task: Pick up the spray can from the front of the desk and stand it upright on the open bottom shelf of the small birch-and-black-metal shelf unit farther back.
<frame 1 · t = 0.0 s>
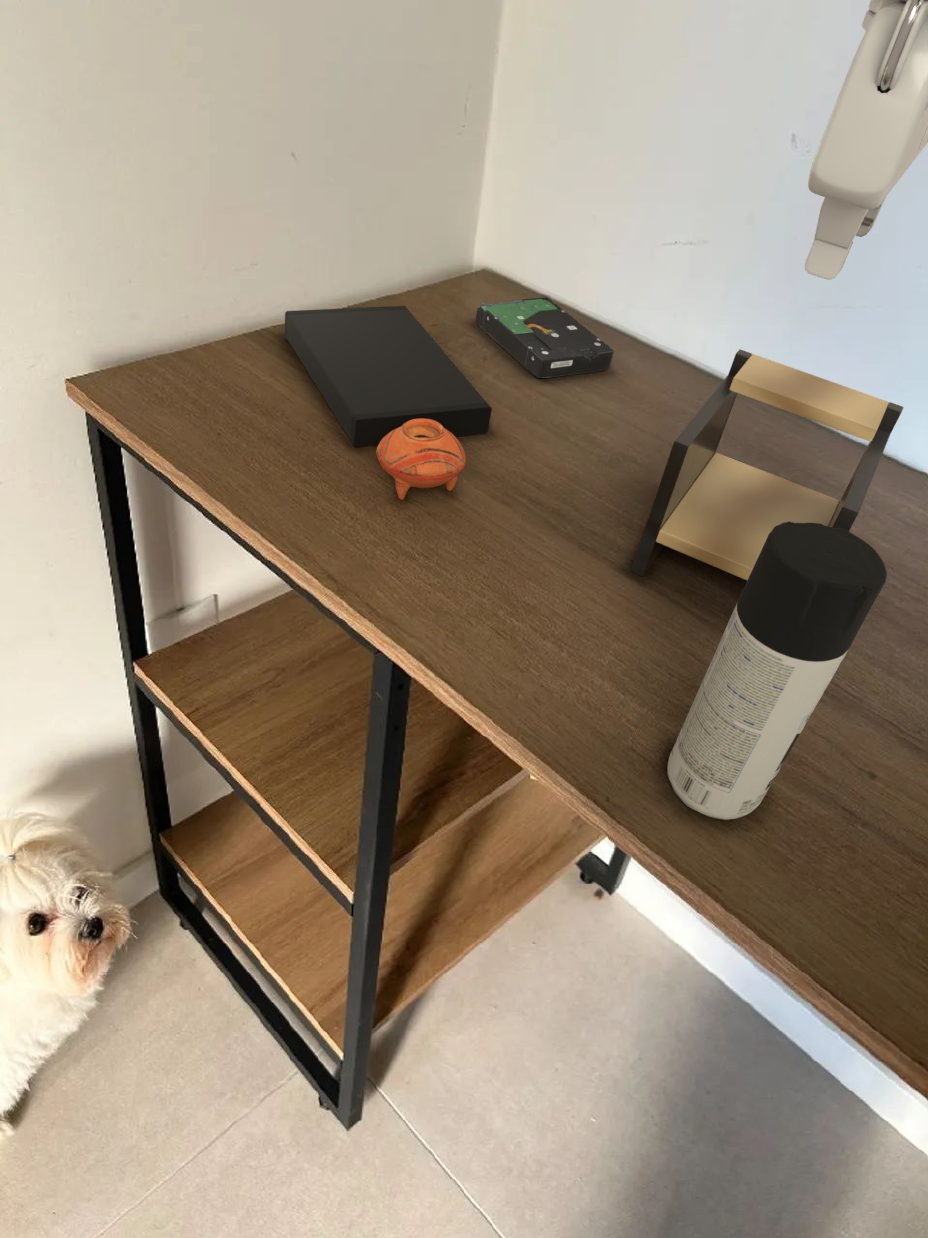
hand: (838, 251, 53), 31 cm above the table, tool pointing down, fingers open, 8 cm apart
disk drive: (539, 348, 111), on the table
pot: (417, 487, 85), on the table
spray can: (710, 785, 63), on the table
shelf: (734, 559, 84), on the table
external hard drive: (381, 384, 99), on the table
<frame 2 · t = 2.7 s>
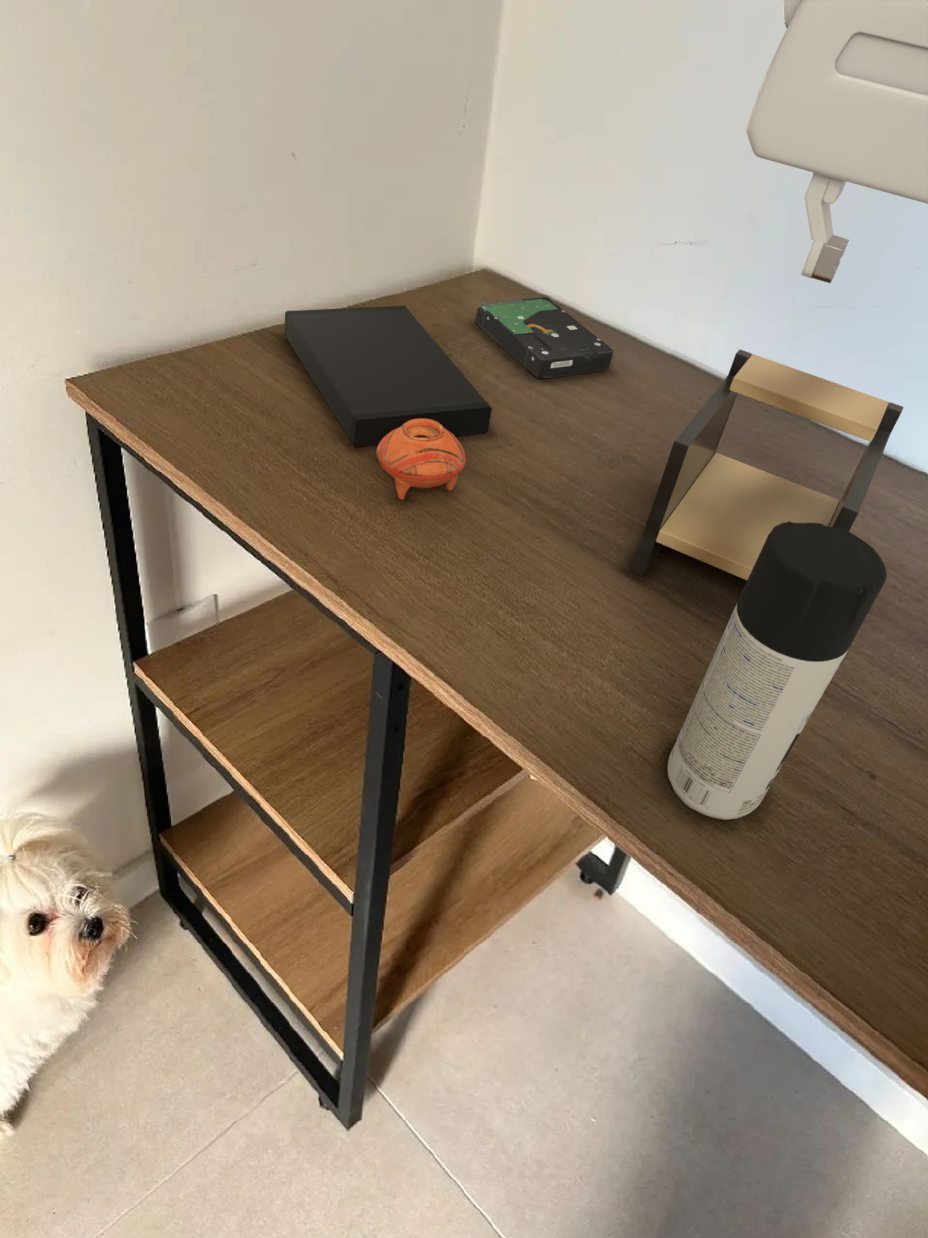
hand: (914, 305, 44), 32 cm above the table, tool pointing down, fingers open, 8 cm apart
nothing on the table moved.
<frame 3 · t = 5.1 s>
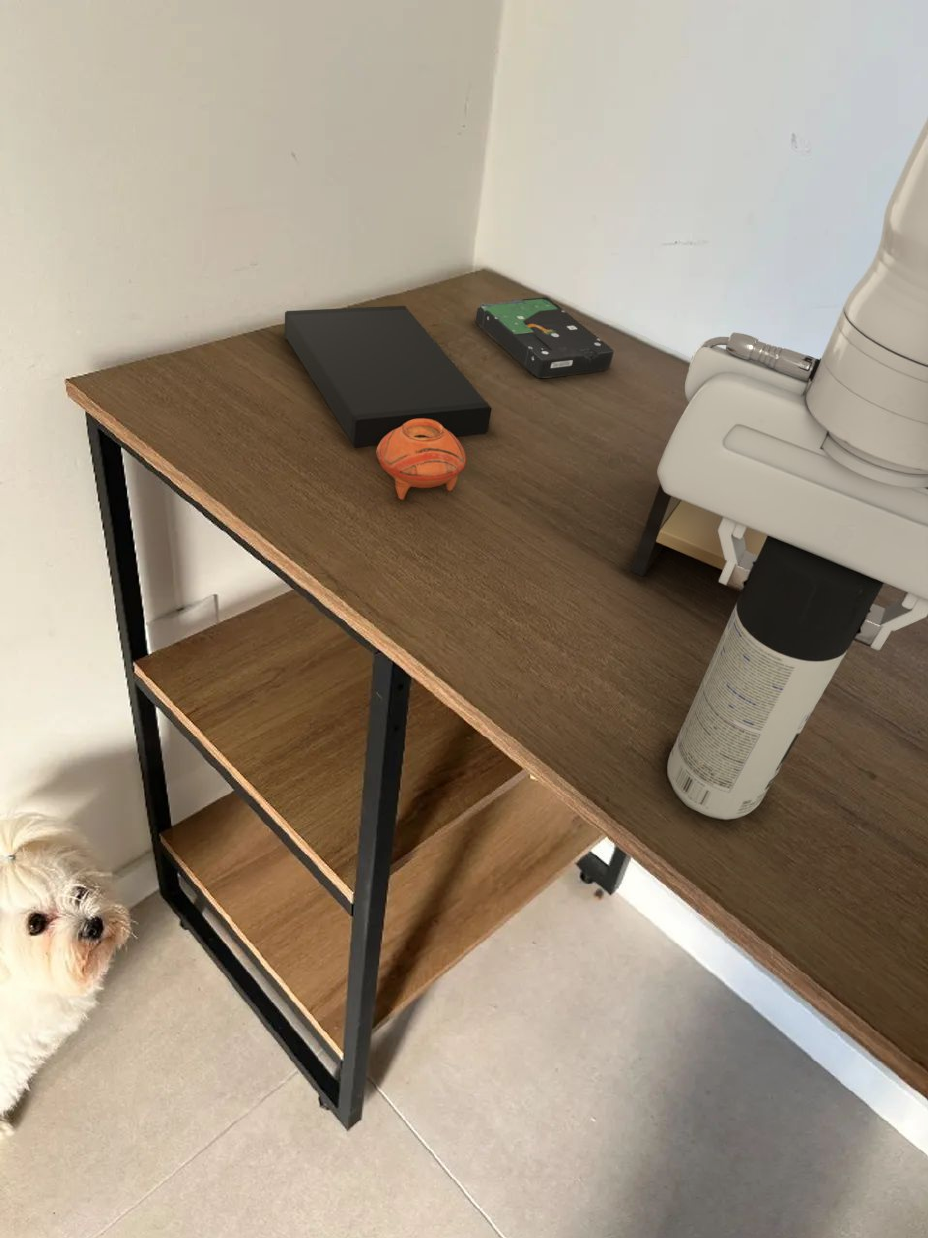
hand: (799, 611, 53), 16 cm above the table, tool pointing down, fingers closed on spray can, 6 cm apart
spray can: (710, 785, 63), on the table, touching gripper
everything else where it was.
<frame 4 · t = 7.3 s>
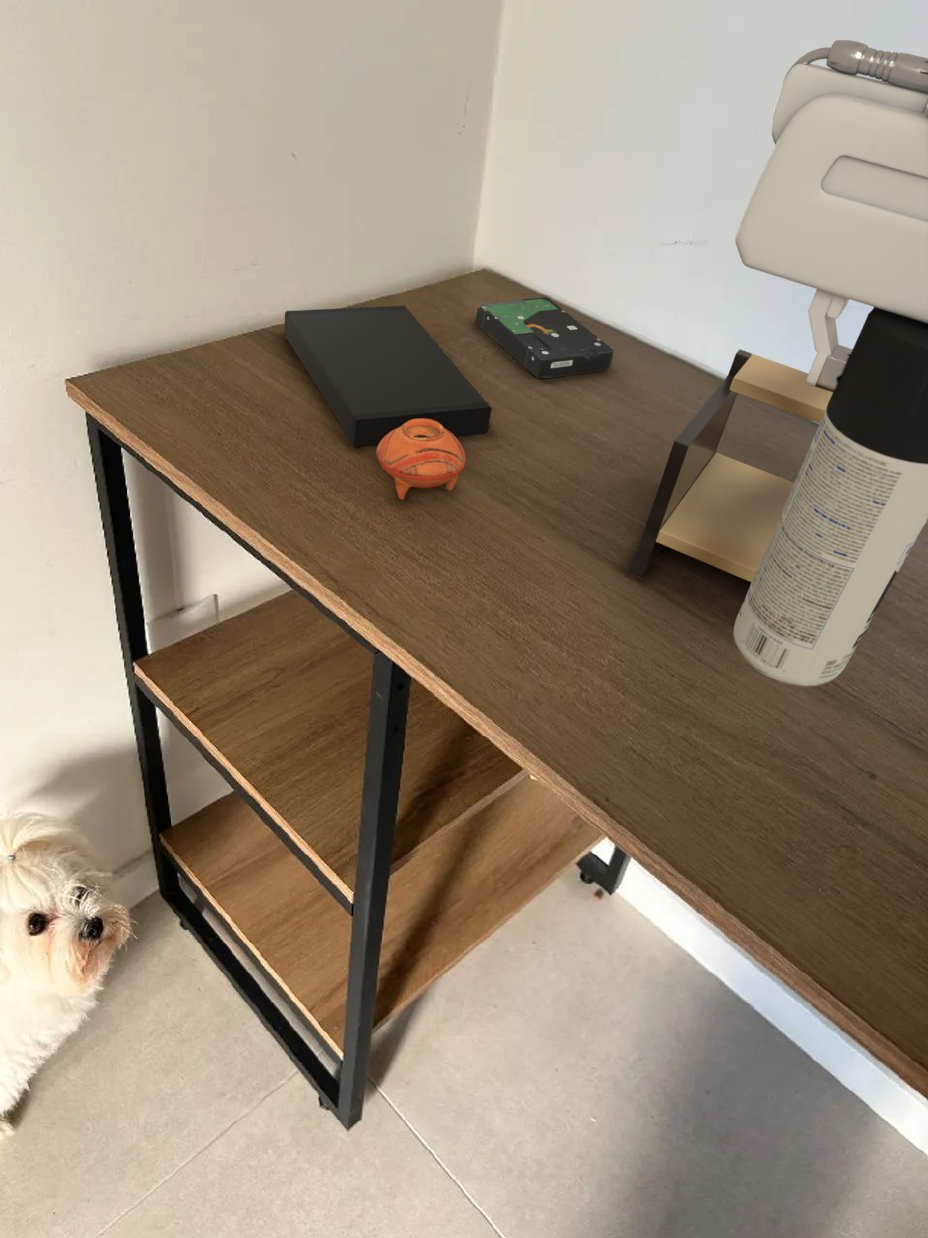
hand: (903, 412, 45), 29 cm above the table, tool pointing down, fingers closed on spray can, 6 cm apart
spray can: (783, 653, 55), point 13 cm above the table, touching gripper
everything else where it was.
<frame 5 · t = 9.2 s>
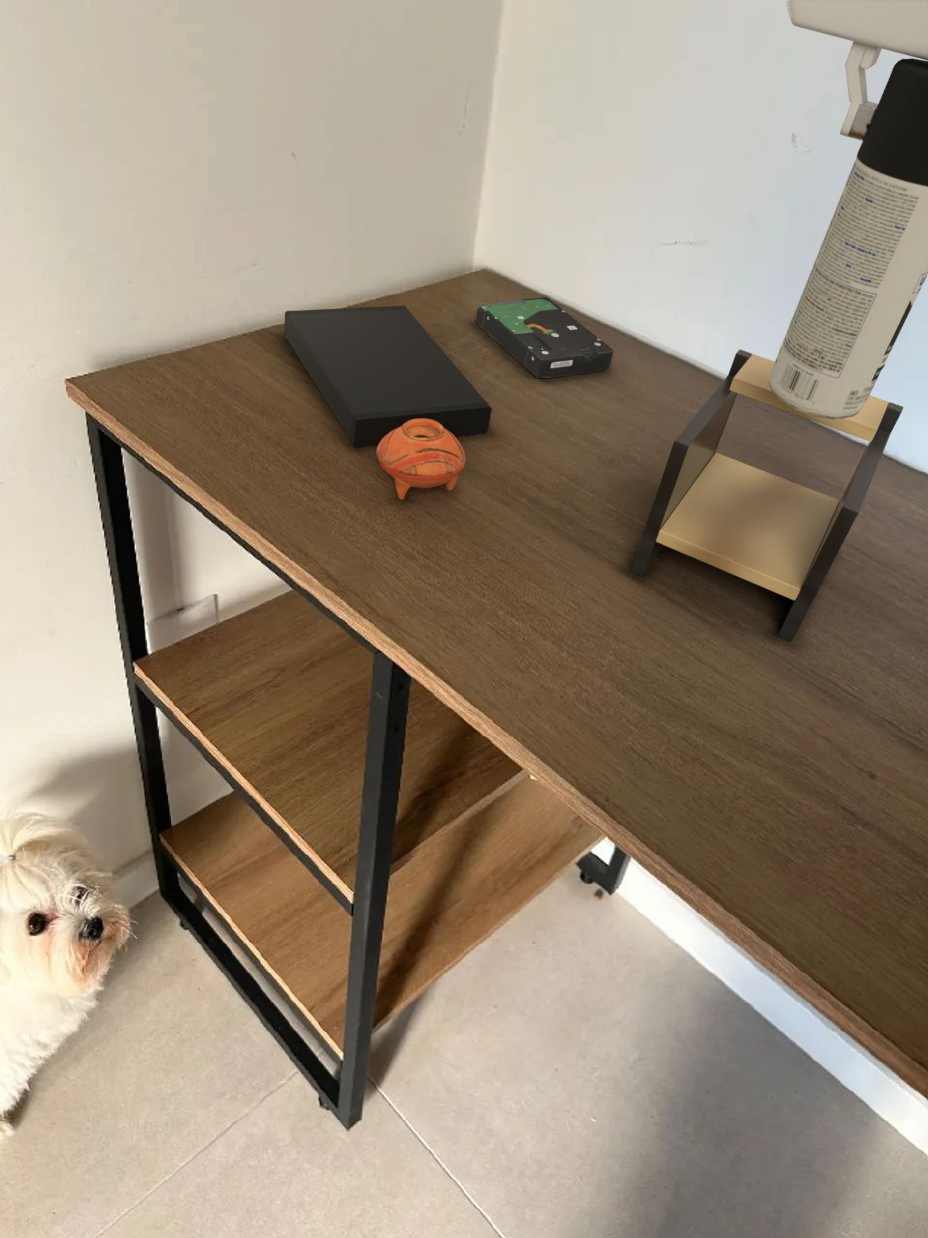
hand: (920, 155, 54), 36 cm above the table, tool pointing down, fingers closed on spray can, 6 cm apart
spray can: (811, 399, 64), point 20 cm above the table, touching gripper
everything else where it was.
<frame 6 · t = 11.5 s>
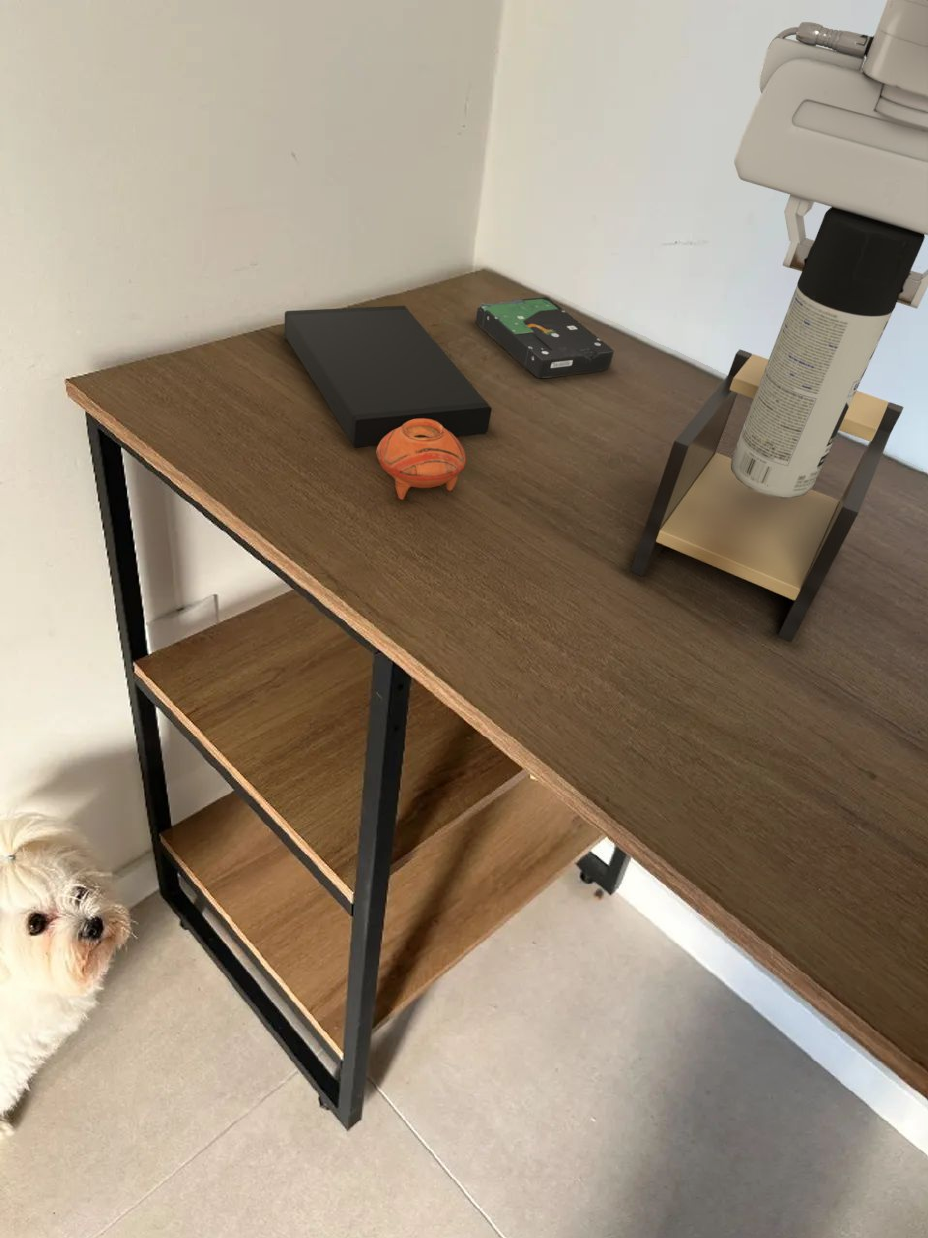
hand: (850, 284, 64), 26 cm above the table, tool pointing down, fingers closed on spray can, 6 cm apart
spray can: (767, 479, 74), point 10 cm above the table, touching gripper
everything else where it was.
when the fingers open (21 cm above the table, at t = 13.5 s): spray can stays where it is, resting on shelf.
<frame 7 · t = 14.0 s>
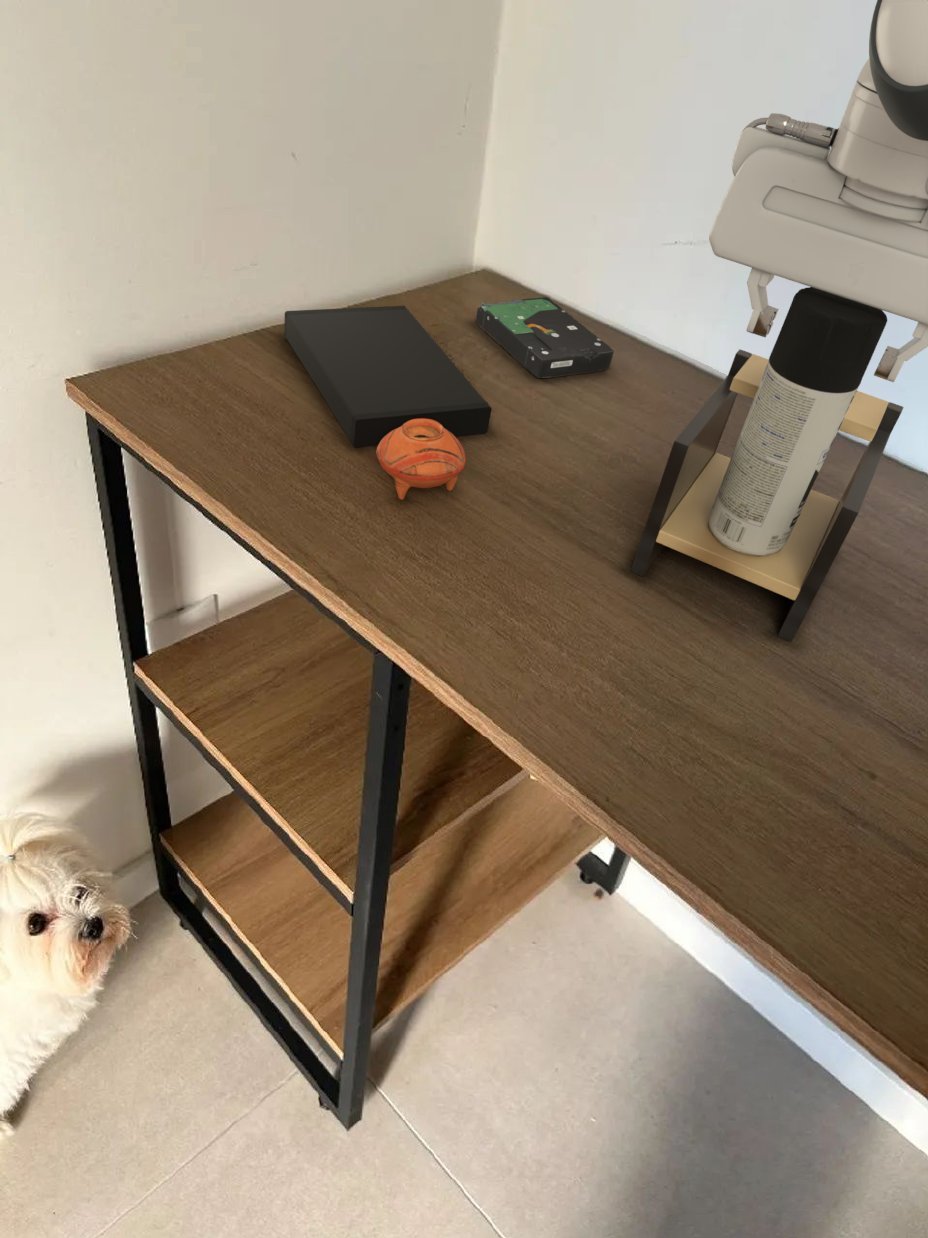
hand: (819, 354, 67), 21 cm above the table, tool pointing down, fingers open, 8 cm apart
spray can: (743, 536, 78), point 5 cm above the table, touching shelf
everything else where it was.
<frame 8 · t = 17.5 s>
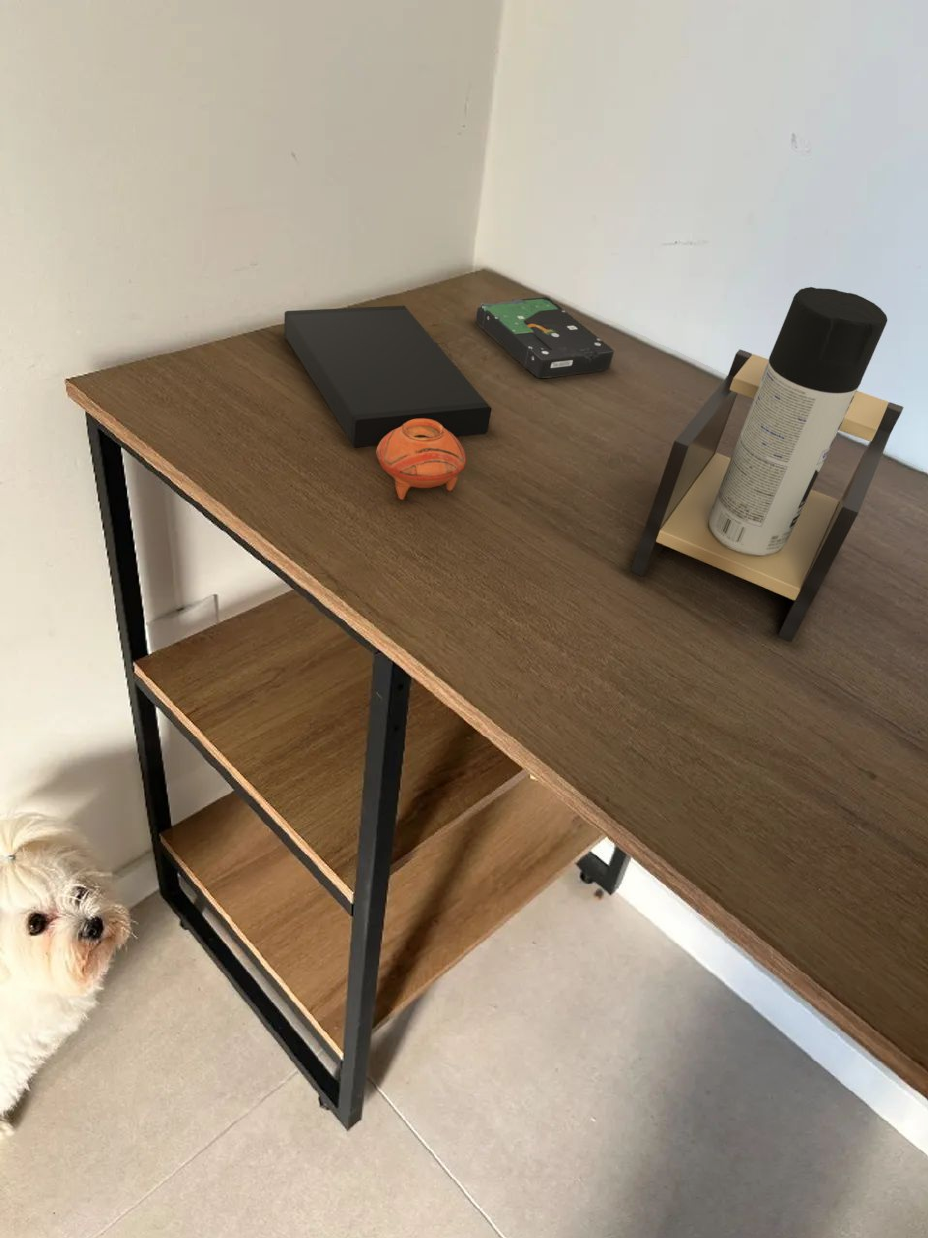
nothing on the table moved.
at the end: spray can inside the target area on the shelf (0.1 cm from its centre), point 4.8 cm above the shelf's base; spray can tilted 0°; the gripper is holding nothing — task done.
